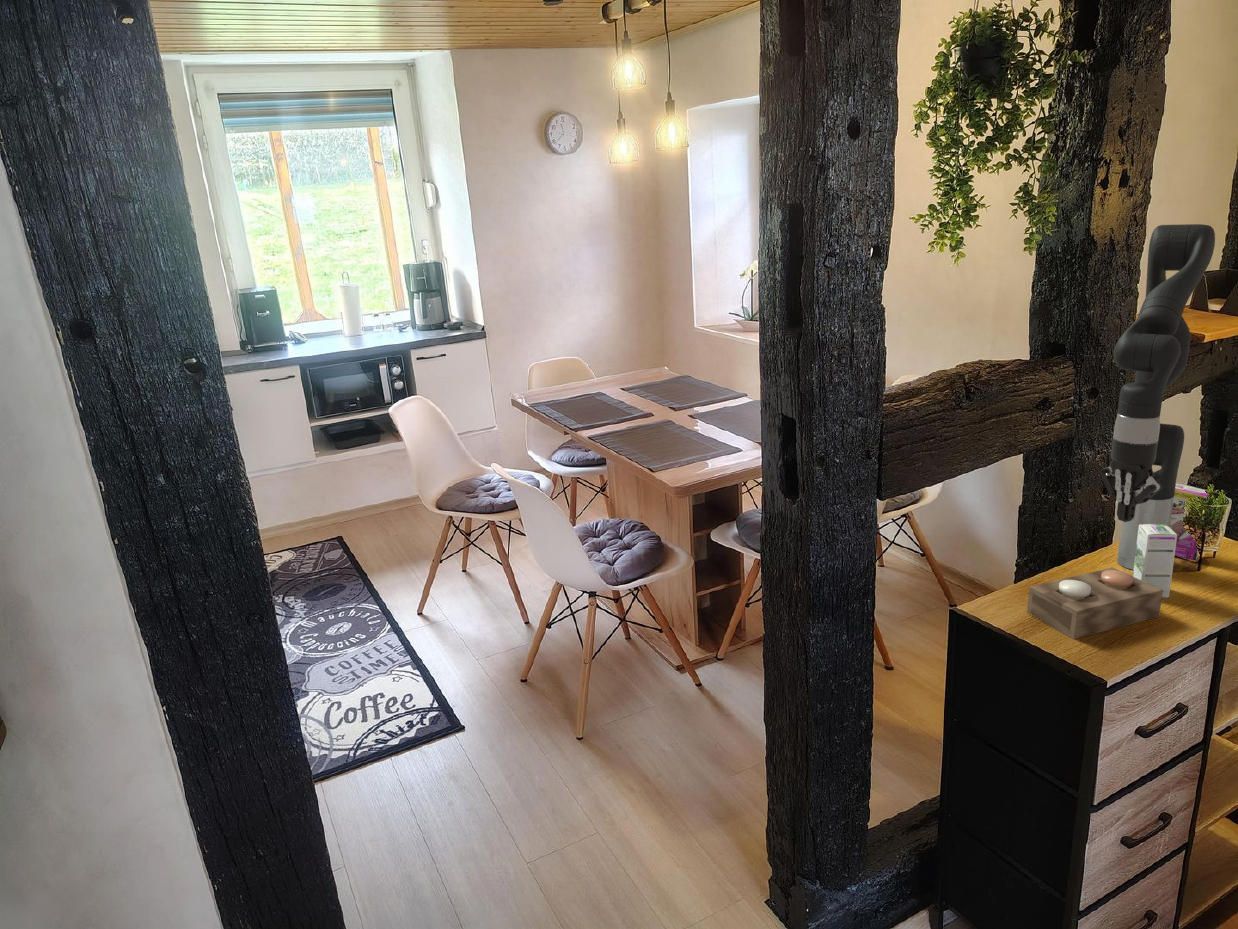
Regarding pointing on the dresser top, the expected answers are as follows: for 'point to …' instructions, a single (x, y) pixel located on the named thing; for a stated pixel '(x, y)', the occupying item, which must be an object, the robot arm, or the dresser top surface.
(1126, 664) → the dresser top surface
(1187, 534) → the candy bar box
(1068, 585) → the cream knob
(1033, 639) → the dresser top surface
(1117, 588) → the terracotta knob
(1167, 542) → the syrup box
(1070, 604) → the brown wooden block
